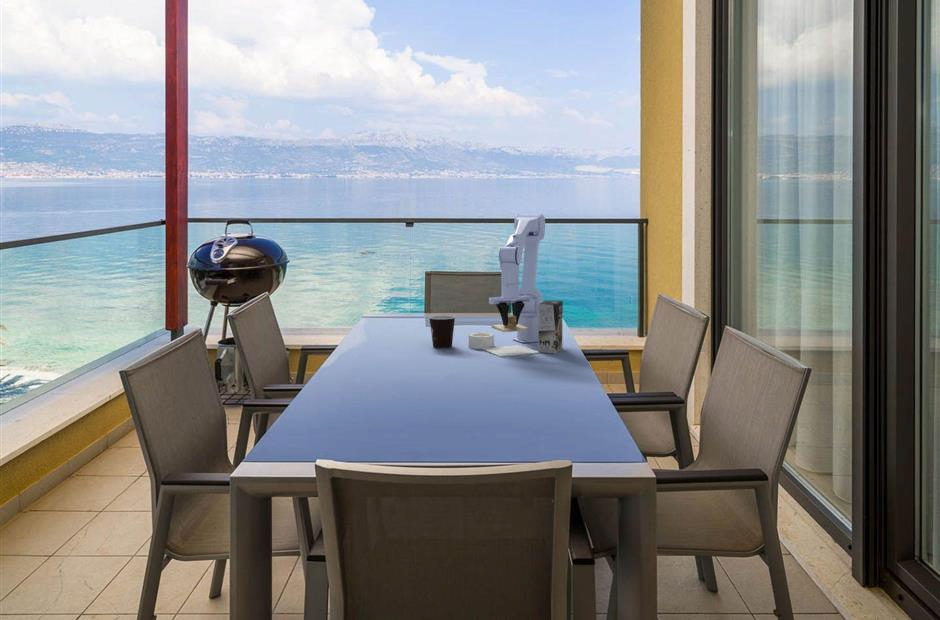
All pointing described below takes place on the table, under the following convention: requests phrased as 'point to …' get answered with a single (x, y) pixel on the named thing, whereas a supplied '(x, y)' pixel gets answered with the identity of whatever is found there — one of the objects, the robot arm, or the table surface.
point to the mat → (510, 351)
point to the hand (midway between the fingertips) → (510, 324)
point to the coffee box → (550, 326)
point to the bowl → (481, 340)
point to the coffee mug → (442, 331)
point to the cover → (510, 325)
